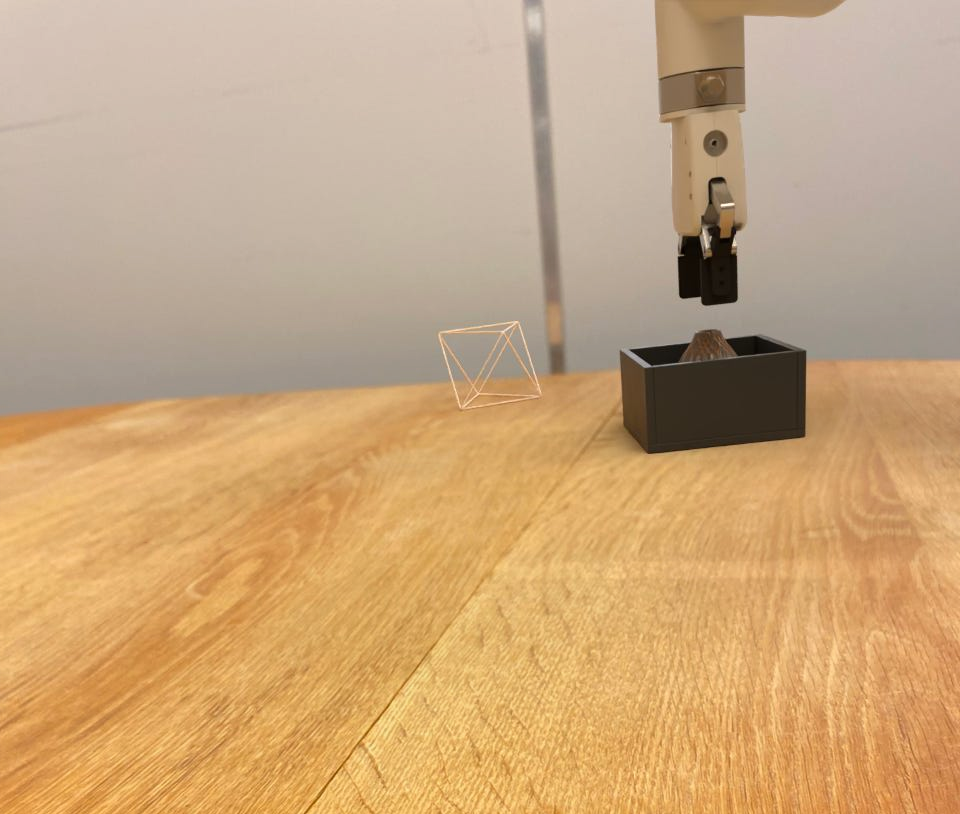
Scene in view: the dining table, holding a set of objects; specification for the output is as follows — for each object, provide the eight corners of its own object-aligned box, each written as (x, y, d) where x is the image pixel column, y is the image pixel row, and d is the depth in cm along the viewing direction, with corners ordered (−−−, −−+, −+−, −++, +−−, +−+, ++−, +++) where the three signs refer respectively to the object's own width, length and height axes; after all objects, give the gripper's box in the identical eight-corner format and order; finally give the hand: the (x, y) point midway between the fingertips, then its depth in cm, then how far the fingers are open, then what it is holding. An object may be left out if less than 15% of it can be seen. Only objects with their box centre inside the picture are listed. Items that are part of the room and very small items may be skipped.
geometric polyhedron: (439, 401, 139) (430, 330, 136) (517, 388, 142) (510, 318, 138) (467, 414, 128) (458, 337, 124) (551, 400, 131) (545, 324, 127)
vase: (743, 428, 100) (742, 332, 97) (670, 431, 102) (666, 337, 99) (747, 414, 106) (747, 323, 103) (678, 417, 108) (675, 328, 105)
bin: (761, 410, 112) (761, 334, 109) (805, 436, 98) (806, 350, 95) (623, 425, 112) (619, 349, 109) (648, 453, 98) (644, 367, 95)
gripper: (771, 81, 86) (773, 302, 92) (720, 104, 102) (724, 290, 108) (679, 92, 86) (686, 312, 92) (642, 113, 102) (650, 299, 108)
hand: (707, 300), depth 100 cm, fingers open, 9 cm apart
